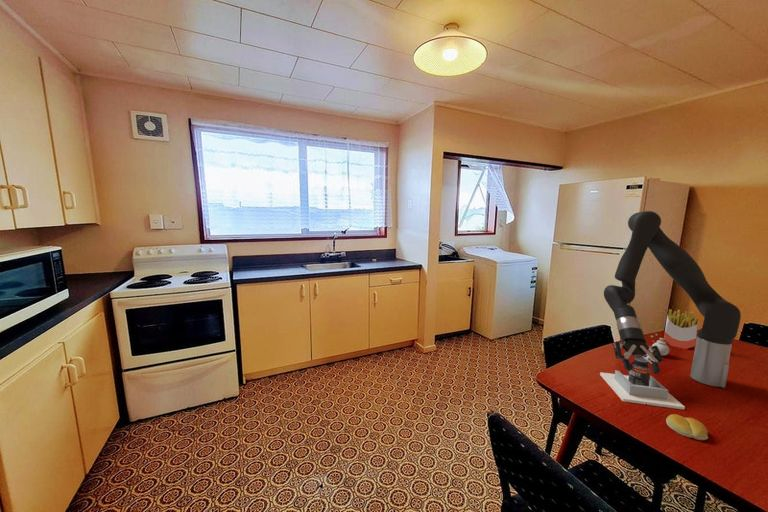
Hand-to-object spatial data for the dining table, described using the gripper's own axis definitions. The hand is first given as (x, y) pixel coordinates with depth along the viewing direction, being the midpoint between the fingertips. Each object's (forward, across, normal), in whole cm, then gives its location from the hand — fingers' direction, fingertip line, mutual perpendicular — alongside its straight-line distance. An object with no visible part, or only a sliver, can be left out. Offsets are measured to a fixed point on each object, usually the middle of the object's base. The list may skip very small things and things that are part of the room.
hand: (643, 372), depth 109 cm
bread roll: (+19, +3, -7) cm, 21 cm away
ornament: (-21, +26, +32) cm, 46 cm away
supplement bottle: (+4, 0, +6) cm, 8 cm away
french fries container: (-30, +41, +42) cm, 66 cm away
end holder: (+5, 0, +7) cm, 8 cm away
